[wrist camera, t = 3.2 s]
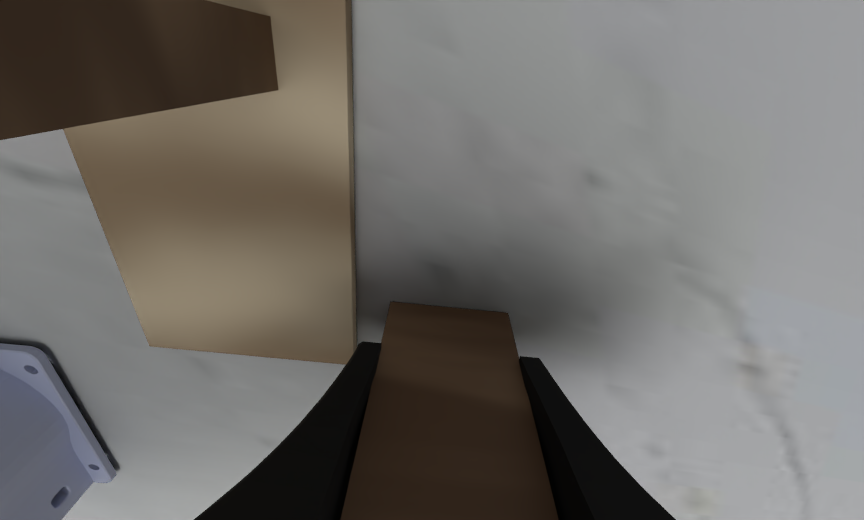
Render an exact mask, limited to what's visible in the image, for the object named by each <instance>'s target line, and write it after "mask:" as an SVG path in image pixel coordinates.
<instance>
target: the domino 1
mask: <svg viewBox="0 0 864 520" xmlns="http://www.w3.org/2000/svg"><path fill="white" fill-rule="evenodd" d="M277 90H278V81H277V72H276V63H275V54H274V45H273V35H272V26H271V17H270V16H267V15H263V14H259V13H255V12H251V11H247V10H243V9H239V8H235V7H231V6H227V5H223V4H219V3H215V2H211V1H207V0H0V140H3V139H9V138H14V137H20V136H26V135H31V134H37V133H42V132H48V131H53V130H59V129H65V128H70V127H76V126H81V125H87V124H93V123H98V122H104V121H109V120H115V119H120V118H126V117H132V116H137V115H143V114H148V113H154V112H160V111H165V110H171V109H176V108H182V107H188V106H193V105H199V104H204V103H210V102H215V101H221V100H227V99H232V98H238V97H243V96H249V95H255V94H260V93H266V92H271V91H277Z"/></svg>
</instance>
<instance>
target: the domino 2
mask: <svg viewBox="0 0 864 520" xmlns="http://www.w3.org/2000/svg"><path fill="white" fill-rule="evenodd" d="M341 520H559V519H558V515H557V511H556V507H555V503H554V499H553V495H552V491H551V486H550V482H549V478H548V474H547V470H546V466H545V462H544V458H543V454H542V450H541V446H540V442H539V438H538V434H537V429H536V425H535V421H534V417H533V413H532V409H531V405H530V401H529V397H528V394H527V391H526V388H525V385H524V381H523V377H522V373H521V369H520V364H519V356H518V352H517V348H516V344H515V340H514V336H513V332H512V328H511V324H510V319H509V315H508V313H504V312H494V311H483V310H473V309H462V308H452V307H442V306H431V305H421V304H410V303H400V302H390V307H389V311H388V315H387V320H386V324H385V328H384V333H383V337H382V342H381V352H380V356H379V360H378V365H377V369H376V373H375V376H374V379H373V382H372V385H371V389H370V394H369V398H368V402H367V407H366V411H365V415H364V420H363V424H362V428H361V433H360V437H359V441H358V446H357V450H356V455H355V459H354V463H353V468H352V472H351V476H350V481H349V485H348V489H347V494H346V498H345V502H344V507H343V511H342V515H341Z"/></svg>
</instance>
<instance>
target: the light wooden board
mask: <svg viewBox="0 0 864 520" xmlns="http://www.w3.org/2000/svg"><path fill="white" fill-rule="evenodd" d="M207 1H211V2H215V3H219V4H223V5H227V6H231V7H235V8H239V9H243V10H247V11H251V12H255V13H259V14H263V15H267V16H270V17H271V26H272V35H273V45H274V54H275V63H276V72H277V81H278V90H277V91H271V92H266V93H260V94H255V95H249V96H243V97H238V98H232V99H227V100H221V101H215V102H210V103H204V104H199V105H193V106H188V107H182V108H176V109H171V110H165V111H160V112H154V113H148V114H143V115H137V116H132V117H126V118H120V119H115V120H109V121H104V122H98V123H93V124H87V125H81V126H76V127H70V128H65V129H63V130H64V133H65V135H66V138H67V140H68V143H69V145H70V148H71V150H72V153H73V155H74V158H75V160H76V163H77V165H78V168H79V170H80V173H81V175H82V178H83V180H84V183H85V185H86V188H87V190H88V193H89V195H90V198H91V200H92V203H93V205H94V208H95V210H96V213H97V216H98V218H99V221H100V223H101V226H102V228H103V231H104V233H105V236H106V238H107V241H108V243H109V246H110V248H111V251H112V253H113V256H114V258H115V261H116V263H117V266H118V268H119V271H120V273H121V276H122V278H123V281H124V283H125V286H126V288H127V291H128V293H129V296H130V298H131V301H132V303H133V306H134V308H135V311H136V313H137V316H138V318H139V321H140V323H141V326H142V328H143V331H144V334H145V336H146V339H147V341H148V344H149V346H152V347H163V348H173V349H184V350H195V351H206V352H217V353H227V354H238V355H249V356H260V357H270V358H281V359H292V360H303V361H313V362H324V363H335V364H347V363H348V361H349V360H350V358H351V357H352V355H353V353H354V352H355V350H356V348H357V334H356V271H355V207H354V144H353V81H352V17H351V0H207Z"/></svg>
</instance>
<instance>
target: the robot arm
mask: <svg viewBox="0 0 864 520" xmlns="http://www.w3.org/2000/svg"><path fill="white" fill-rule="evenodd" d="M380 352H381V343H372V342H361V343H360V344H359V345H358V346H357V348H356V350H355V352H354V353H353V355H352V357H351V358H350V360H349V361H348V363H347V364H346V366H345V367H344V368H343V370H342V371H341V373H340V374H339V376H338V377H337V378H336V380H335V381H334V382H333V384H332V385H331V386H330V387H329V389H328V390H327V391H326V393H325V394H324V395H323V397H322V398H321V399H320V400H319V401H318V403H317V404H316V405H315V406H314V407H313V408H312V410H311V411H310V412H309V413H308V414H307V416H306V417H305V418H304V419H303V420H302V421H301V422H300V423H299V425H298V426H297V427H296V428H295V429H294V430H293V431H292V432H291V433H290V434H289V435H288V436H287V437H286V438H285V439H284V440H283V441H282V442H281V443H280V444H279V445H278V446H277V447H276V448H275V449H274V450H273V451H272V452H271V453H270V454H269V455H268V456H267V457H266V458H265V459H264V460H263V461H262V462H261V463H260V464H259V465H258V466H257V467H256V468H254V469H253V470H252V471H251V472H250V473H249V474H248V475H247V476H246V477H244V478H243V479H242V480H241V481H240V482H239V483H238V484H236V485H235V486H234V487H233V488H232V489H230V490H229V491H228V492H227V493H226V494H224V495H223V496H222V497H221V498H220V499H218V500H217V501H216V502H215V503H214V504H212V505H211V506H210V507H209V508H208V509H206V510H205V511H204V512H203V513H201V514H200V515H199V516H198V517H196V518H195V519H194V520H341V515H342V511H343V507H344V502H345V498H346V494H347V489H348V485H349V481H350V476H351V472H352V468H353V463H354V459H355V455H356V450H357V446H358V441H359V437H360V433H361V428H362V424H363V420H364V415H365V411H366V407H367V402H368V398H369V394H370V389H371V385H372V382H373V379H374V376H375V373H376V369H377V365H378V360H379V356H380ZM519 364H520V369H521V373H522V377H523V381H524V385H525V388H526V391H527V394H528V397H529V401H530V405H531V409H532V413H533V417H534V421H535V425H536V429H537V434H538V438H539V442H540V446H541V450H542V454H543V458H544V462H545V466H546V470H547V474H548V478H549V482H550V486H551V491H552V495H553V499H554V503H555V507H556V511H557V515H558V519H559V520H676V519H675V518H674V517H672V516H671V515H670V514H669V513H668V512H667V511H666V510H665V509H664V508H663V507H662V506H661V505H660V504H659V503H658V502H657V501H656V500H655V499H653V498H652V497H651V496H650V495H649V494H648V493H647V492H646V491H645V490H644V489H643V488H642V487H641V486H640V485H639V483H638V482H637V481H636V480H635V479H634V478H633V477H632V476H631V475H630V474H629V473H628V472H627V471H626V470H625V469H624V468H623V466H622V465H621V464H620V463H619V462H618V461H617V460H616V459H615V458H614V457H613V455H612V454H611V453H610V452H609V451H608V450H607V448H606V447H605V446H604V445H603V444H602V442H601V441H600V440H599V439H598V438H597V436H596V435H595V434H594V433H593V431H592V430H591V429H590V428H589V426H588V425H587V424H586V423H585V421H584V420H583V419H582V417H581V416H580V415H579V413H578V412H577V411H576V409H575V408H574V407H573V405H572V404H571V403H570V401H569V400H568V399H567V397H566V396H565V395H564V393H563V392H562V390H561V389H560V387H559V386H558V385H557V383H556V382H555V380H554V379H553V377H552V376H551V375H550V373H549V372H548V370H547V369H546V367H545V366H544V364H543V363H542V361H541V360H540V359H539V358H532V357H521V356H520V358H519ZM115 476H116V471H115V469H114V468H113V466H112V464H111V463H110V461H109V459H108V458H107V456H106V454H105V453H104V451H103V449H102V448H101V446H100V444H99V443H98V441H97V439H96V438H95V436H94V434H93V433H92V431H91V429H90V428H89V426H88V424H87V423H86V421H85V419H84V418H83V416H82V414H81V413H80V411H79V409H78V408H77V406H76V404H75V403H74V401H73V399H72V398H71V396H70V394H69V392H68V391H67V389H66V387H65V386H64V384H63V382H62V381H61V379H60V377H59V376H58V374H57V372H56V371H55V369H54V367H53V366H52V364H51V362H50V361H49V359H48V357H47V356H46V354H45V353H44V352H43V351H41V350H40V349H38V348H36V347H32V346H25V345H14V344H3V343H0V520H62V519H63V517H64V516H65V515H66V514H67V513H68V511H69V510H70V509H71V508H72V507H73V506H74V504H75V503H76V502H77V501H78V500H79V498H80V497H81V496H82V495H83V494H84V492H85V491H86V490H87V489H88V488H89V486H90V485H91V484H92V483H93V482H98V483H108V482H111V481H112V480H113V478H114V477H115Z"/></svg>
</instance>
